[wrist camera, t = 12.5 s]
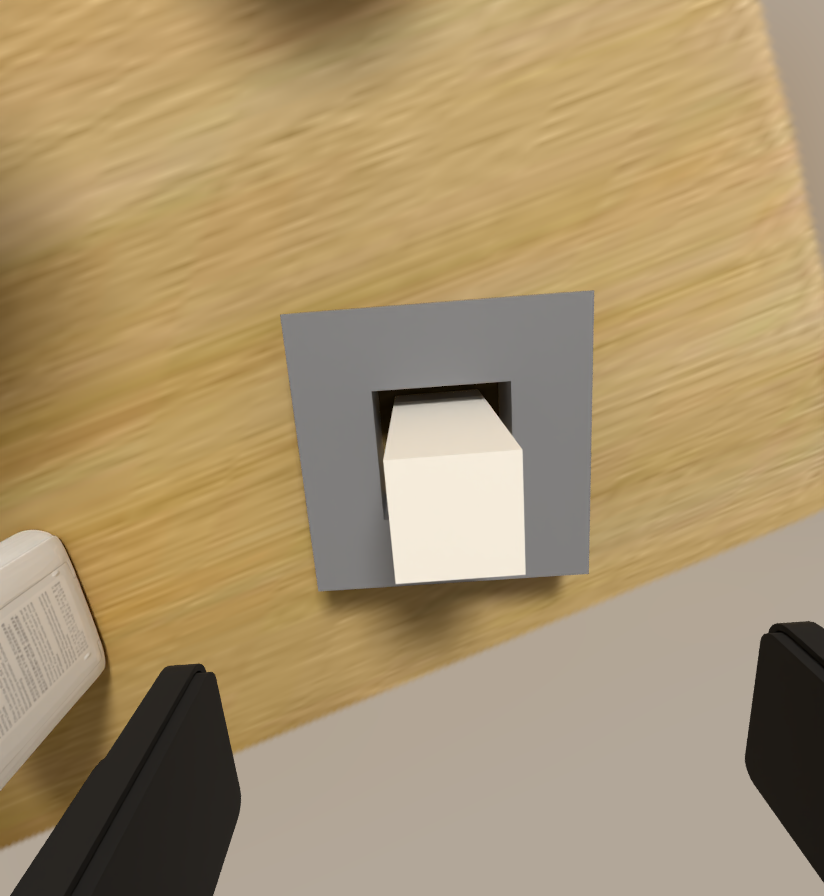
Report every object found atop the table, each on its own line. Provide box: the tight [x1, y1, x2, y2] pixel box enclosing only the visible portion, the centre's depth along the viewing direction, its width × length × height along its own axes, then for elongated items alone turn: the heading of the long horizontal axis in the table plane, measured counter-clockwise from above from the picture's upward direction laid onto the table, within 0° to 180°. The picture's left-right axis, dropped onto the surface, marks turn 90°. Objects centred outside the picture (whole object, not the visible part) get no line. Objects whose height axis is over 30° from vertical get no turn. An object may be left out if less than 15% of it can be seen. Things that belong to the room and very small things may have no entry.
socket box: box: [280, 291, 594, 591], centre depth 27 cm, size 14×14×4 cm
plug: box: [383, 389, 526, 584], centre depth 23 cm, size 4×4×12 cm
